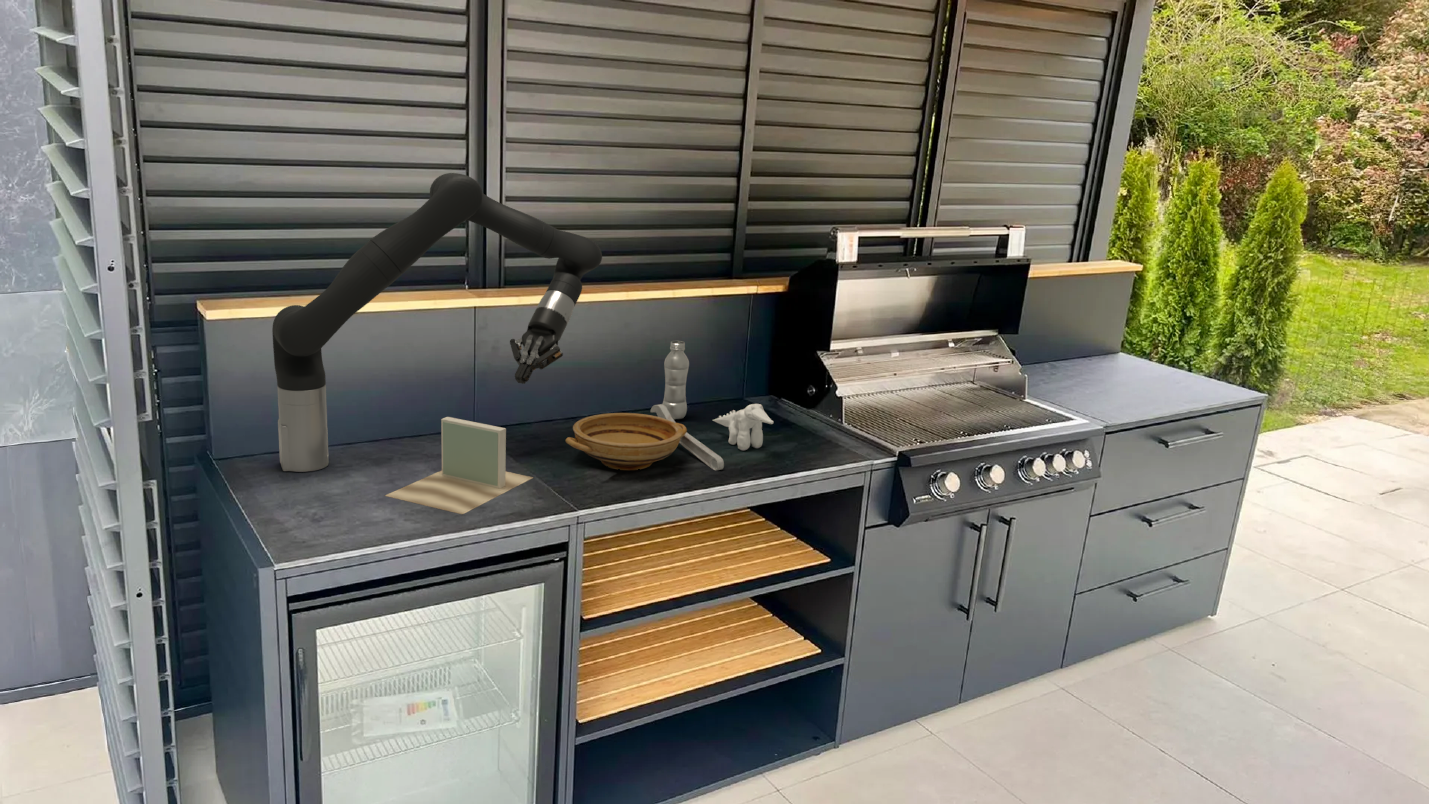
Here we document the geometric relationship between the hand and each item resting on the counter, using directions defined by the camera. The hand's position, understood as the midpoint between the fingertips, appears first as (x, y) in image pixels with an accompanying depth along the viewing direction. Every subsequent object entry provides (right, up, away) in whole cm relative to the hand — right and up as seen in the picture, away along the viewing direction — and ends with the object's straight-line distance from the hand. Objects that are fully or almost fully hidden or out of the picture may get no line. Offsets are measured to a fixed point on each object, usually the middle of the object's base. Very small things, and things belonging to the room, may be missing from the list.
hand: (519, 381), depth 222 cm
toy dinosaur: (+47, -15, +29) cm, 57 cm away
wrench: (+34, -16, +21) cm, 43 cm away
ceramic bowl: (+22, -18, +11) cm, 30 cm away
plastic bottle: (+31, -9, +47) cm, 57 cm away
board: (-9, -22, -13) cm, 28 cm away
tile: (-7, -20, -10) cm, 24 cm away
